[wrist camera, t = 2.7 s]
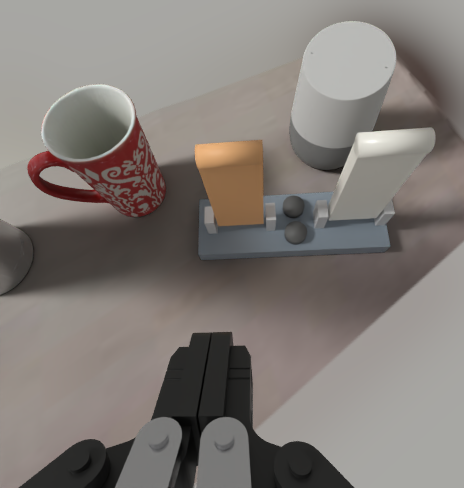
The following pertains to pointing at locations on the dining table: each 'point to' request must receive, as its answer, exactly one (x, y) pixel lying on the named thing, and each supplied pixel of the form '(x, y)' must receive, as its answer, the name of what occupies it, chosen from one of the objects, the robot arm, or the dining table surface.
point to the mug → (100, 151)
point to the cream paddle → (377, 171)
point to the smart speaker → (339, 91)
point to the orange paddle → (233, 180)
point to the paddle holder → (292, 230)
